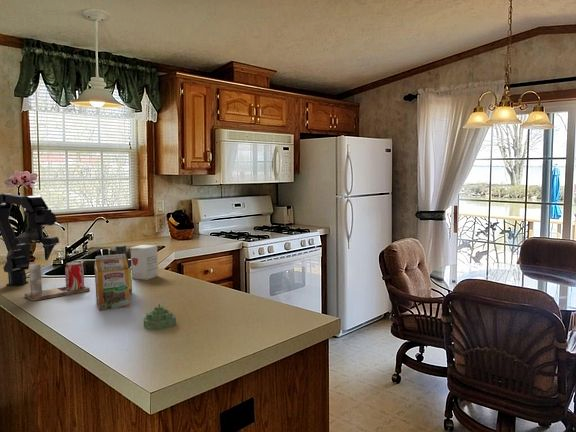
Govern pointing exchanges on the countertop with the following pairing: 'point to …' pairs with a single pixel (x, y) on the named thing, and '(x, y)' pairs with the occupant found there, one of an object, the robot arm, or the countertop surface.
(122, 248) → the sauce bottle
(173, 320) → the decorative artifact
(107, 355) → the countertop surface
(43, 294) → the brown board
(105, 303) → the food package
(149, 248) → the supplement box
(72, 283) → the soda can
